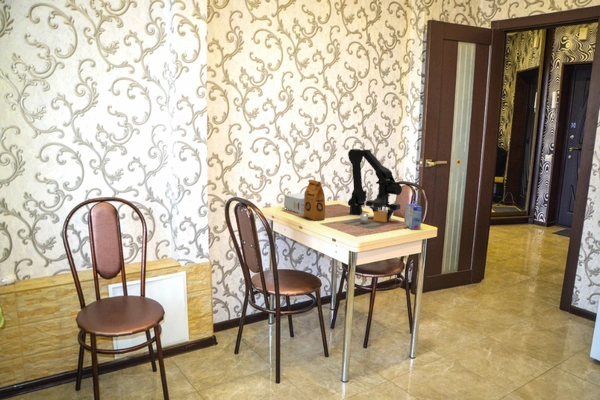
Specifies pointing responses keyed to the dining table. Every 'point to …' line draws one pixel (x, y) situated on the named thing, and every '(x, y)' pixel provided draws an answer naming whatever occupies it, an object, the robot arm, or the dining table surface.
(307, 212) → the coffee package
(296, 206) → the supplement box
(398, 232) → the dining table surface
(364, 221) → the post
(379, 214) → the tan orange cube
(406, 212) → the ink cartridge box
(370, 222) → the board
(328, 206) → the dining table surface
